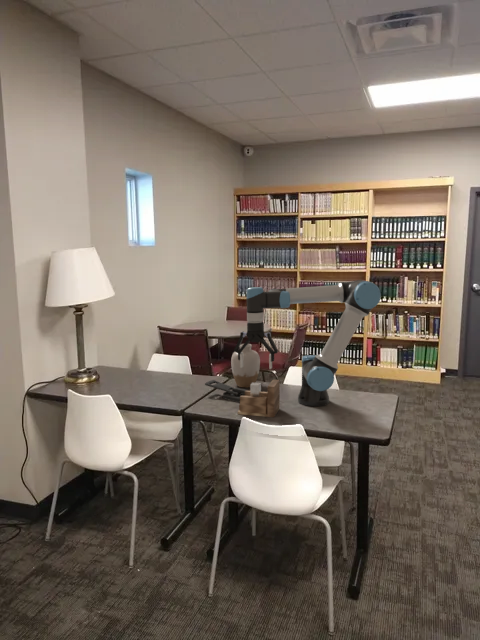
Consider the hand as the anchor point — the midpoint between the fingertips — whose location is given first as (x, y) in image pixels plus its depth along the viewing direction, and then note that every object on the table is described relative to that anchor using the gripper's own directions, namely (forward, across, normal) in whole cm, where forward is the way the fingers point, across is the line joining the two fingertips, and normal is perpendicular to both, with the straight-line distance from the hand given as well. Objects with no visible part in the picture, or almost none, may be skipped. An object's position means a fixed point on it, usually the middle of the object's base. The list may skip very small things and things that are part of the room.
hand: (256, 367), depth 217 cm
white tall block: (+20, 0, 0) cm, 20 cm away
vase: (+21, +17, -41) cm, 49 cm away
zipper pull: (+21, +20, -18) cm, 33 cm away
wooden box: (+21, -1, 0) cm, 21 cm away
